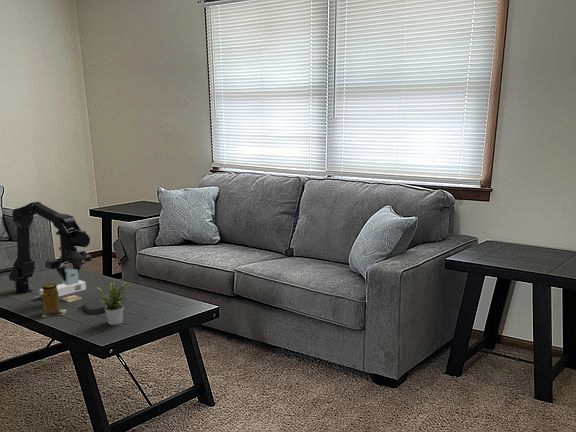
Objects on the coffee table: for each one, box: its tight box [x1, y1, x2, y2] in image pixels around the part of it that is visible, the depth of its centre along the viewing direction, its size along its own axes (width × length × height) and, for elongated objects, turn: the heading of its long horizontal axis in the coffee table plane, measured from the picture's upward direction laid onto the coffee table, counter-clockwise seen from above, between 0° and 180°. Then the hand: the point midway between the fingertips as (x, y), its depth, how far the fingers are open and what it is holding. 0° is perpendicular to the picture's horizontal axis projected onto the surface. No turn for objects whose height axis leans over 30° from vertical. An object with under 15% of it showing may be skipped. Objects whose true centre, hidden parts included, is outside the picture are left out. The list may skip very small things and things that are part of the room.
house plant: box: [96, 281, 132, 326], centre depth 210 cm, size 14×14×16 cm
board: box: [61, 295, 83, 303], centre depth 240 cm, size 6×6×1 cm
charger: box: [61, 267, 80, 285], centre depth 239 cm, size 7×5×6 cm
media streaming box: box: [83, 295, 124, 315], centre depth 230 cm, size 15×15×3 cm
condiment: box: [41, 283, 67, 318], centre depth 222 cm, size 7×8×12 cm
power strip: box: [28, 279, 87, 301], centre depth 246 cm, size 8×25×4 cm, turn 141°
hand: (70, 279), depth 239 cm, fingers closed on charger, 5 cm apart
